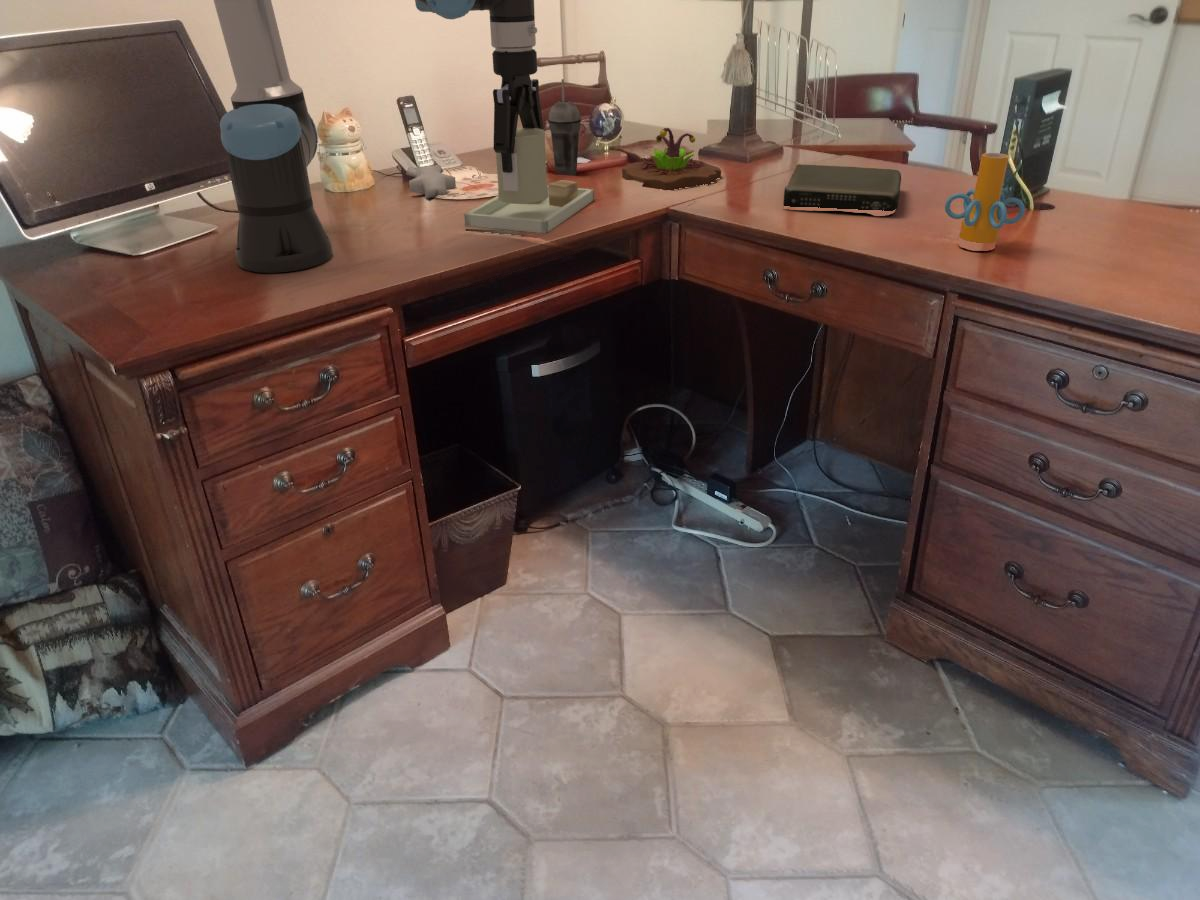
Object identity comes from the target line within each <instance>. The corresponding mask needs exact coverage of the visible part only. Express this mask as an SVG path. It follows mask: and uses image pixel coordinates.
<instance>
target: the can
mask: <svg viewBox="0 0 1200 900" xmlns="http://www.w3.org/2000/svg"><path fill="white" fill-rule="evenodd" d="M514 152H516V153H517V166H518V182H519V191H506V190H503V177H502V163H501V153H496V152H495V158H496V160H495V162H496V173H497V188H498V190H497V191H498V195H497V196H498V199H499V200H500V201H502V202H506V203H512V204H528V203H536V202H540V201H543V200H545V199H547V198H548V192H547V186H548V180H547V179H548V178H547V163H546V159H547V158H546V157H547V156H546V131H545V130H543V129H539V128H523V127H522V126H521V127H520V126H519V127H518V126H517V130H516V137H515V146H514Z"/></svg>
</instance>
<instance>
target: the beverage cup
mask: <svg viewBox="0 0 1200 900" xmlns="http://www.w3.org/2000/svg"><path fill="white" fill-rule="evenodd" d="M565 94H566V93H565V80H564V79H563V78H562V79H561V97H562V98H561V100H559V101H557V102H555V103H554V104H553V105H552V107H551V108H550V111H549V113H548V120H547V122H548V126H549V131H550V133H551V134H550V135H551V136H550V137H551V144H552V145H551V146H552V153H553V160H554V168H555V172H556V174H558V175H559V174H560V175H564V176H565V175H566V176H571V177H575V176H577V171H578V170H577V168H578V155H579V153H578V151H579V139H580V138H579V137H580V135H579V134H580V130H581V122H582V118H581V114H580V111H579V109H578V107H577V106H576V104H575V103H574V102H572V101H570V100H566V99H565V98H566V96H565Z"/></svg>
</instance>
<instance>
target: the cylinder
mask: <svg viewBox="0 0 1200 900" xmlns="http://www.w3.org/2000/svg"><path fill="white" fill-rule="evenodd" d="M1009 159H1010V156H1009V155H1008V154H1005V153H1001V152H1000V153H998V152H985V153H982V154H981V158H980V164H979V168H978V173H977V178H976V183H975V189H974V188H973V189H969V190H968V191H967V192H966V193H961V192H957V193H954V194H952V195H950V196H949V197H948V198H947V200H946V201H945V204H944V210H945V213H946V214H947V216H948V217H950V218H952V219H955V220H960V219H963V220H962V222H961V226H960V230H959V235H958V238H959V237H960V238H961V239H963V240H966V241H970V242H976V243H993V242H996V241H997V242H998V239H999V234H1000V231H1001V230H1000V229H1001V228H1002V227H1003V226H1004V225H1005V224H1006V225H1011V224H1016V223H1017V222H1019V221H1020V220H1021V219H1022V218H1023V217H1024V215H1025V213H1026V207H1025V204H1024V202H1023V201H1022V200H1021V199H1019V198H1017V197H1007V198H1005V197H1006V196H1005V194H1004V192H1003V185H1004V181H1005V176H1006V171H1007V167H1008V162H1009ZM971 195H973V197H972V198H971ZM956 199H963V201H962V202H963V203H962V206H963V209H964V212H962V213H960V214H959V213H954V212H953V211H952V210H951V203H953V201H954V200H956ZM1009 203H1013V204H1016V205H1017V206H1018V207H1019V212H1018V214H1017V215H1016V216H1015V217H1014V218H1007V217H1008V211H1007V207H1006V205H1007V204H1009Z"/></svg>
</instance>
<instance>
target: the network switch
mask: <svg viewBox="0 0 1200 900" xmlns="http://www.w3.org/2000/svg"><path fill="white" fill-rule="evenodd" d="M901 183H902V174H901V172H900V171H899V170H897V169H890V168H877V167H876V168H874V167H859V166H841V165H840V166H839V165H824V164H823V165H822V164H821V165H818V164H797V165H795V169H794V171H793V173H792V174H791V177H790V179H789V181H788V183H787V185H785V187H784V194H783V207H784V206H790V207H818V208H819V207H820V208H837V209H858V210H882V211H883V210H884V211H893V210H895V209H898V206H899V199H900V191H901Z"/></svg>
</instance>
